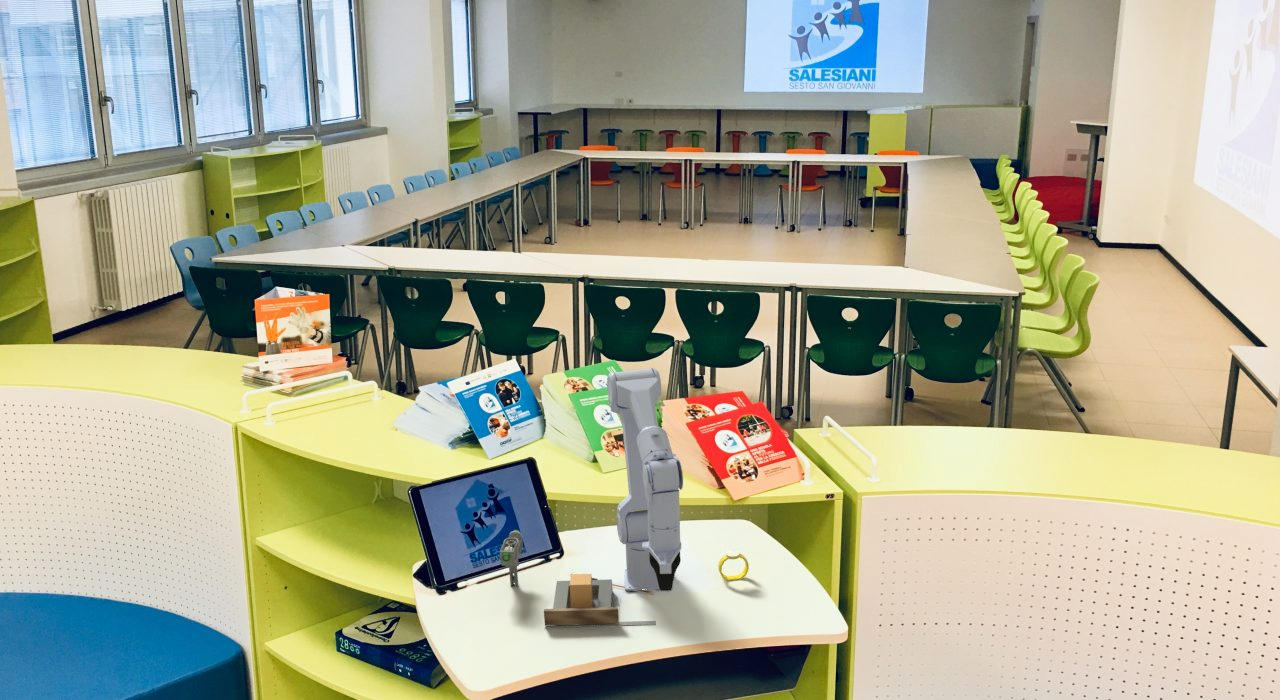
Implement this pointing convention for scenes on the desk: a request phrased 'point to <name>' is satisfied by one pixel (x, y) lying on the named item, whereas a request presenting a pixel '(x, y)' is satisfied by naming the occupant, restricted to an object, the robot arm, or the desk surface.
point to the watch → (733, 555)
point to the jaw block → (581, 591)
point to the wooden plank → (581, 616)
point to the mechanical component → (512, 554)
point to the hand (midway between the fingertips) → (665, 588)
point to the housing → (600, 599)
